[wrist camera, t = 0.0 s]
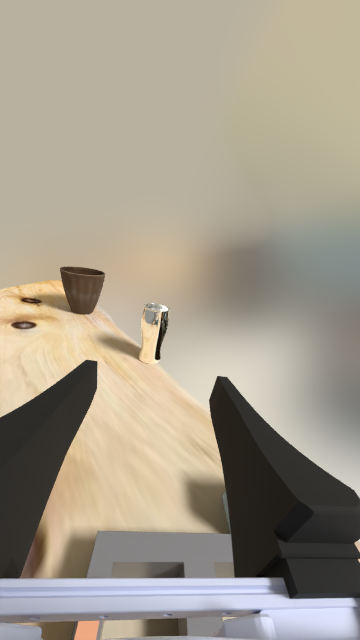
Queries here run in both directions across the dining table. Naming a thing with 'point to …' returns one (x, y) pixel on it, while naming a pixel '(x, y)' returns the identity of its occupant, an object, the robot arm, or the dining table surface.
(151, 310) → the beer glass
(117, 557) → the grey slotted tray
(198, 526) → the dining table surface
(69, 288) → the plant pot
